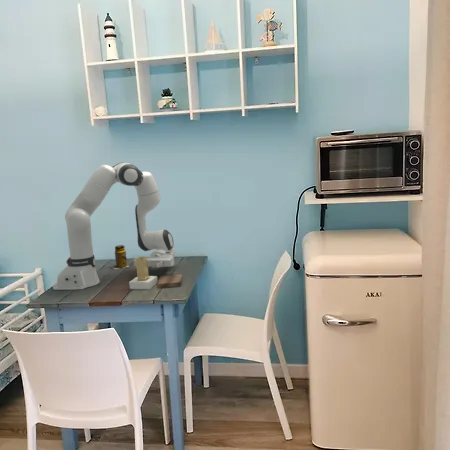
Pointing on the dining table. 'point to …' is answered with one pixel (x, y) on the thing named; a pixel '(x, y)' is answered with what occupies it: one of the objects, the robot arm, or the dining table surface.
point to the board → (169, 281)
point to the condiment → (120, 257)
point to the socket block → (143, 283)
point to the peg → (142, 268)
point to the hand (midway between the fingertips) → (147, 265)
